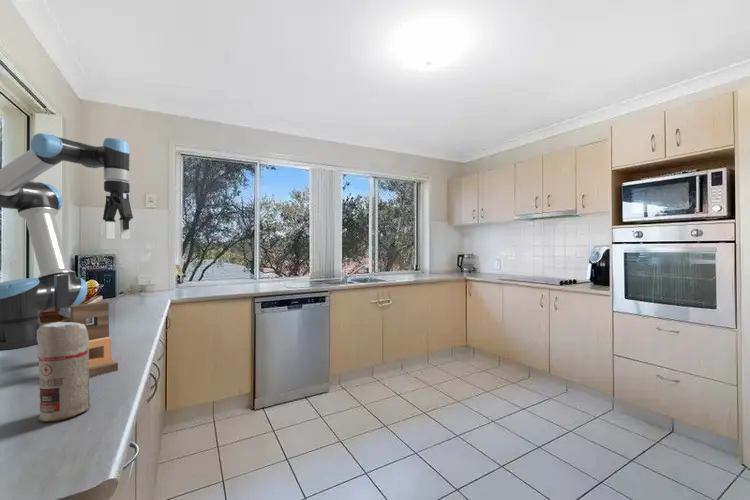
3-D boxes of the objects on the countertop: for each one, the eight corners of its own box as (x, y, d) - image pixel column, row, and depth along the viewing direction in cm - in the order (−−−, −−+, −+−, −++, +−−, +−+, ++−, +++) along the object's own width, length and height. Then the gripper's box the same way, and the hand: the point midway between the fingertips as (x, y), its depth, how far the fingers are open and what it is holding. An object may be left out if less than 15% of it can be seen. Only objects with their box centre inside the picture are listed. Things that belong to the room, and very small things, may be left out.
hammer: (54, 313, 113) (54, 275, 113) (66, 311, 115) (65, 274, 115) (81, 324, 97) (80, 280, 97) (94, 322, 100) (93, 279, 100)
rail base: (51, 357, 107) (50, 298, 106) (83, 351, 113) (82, 295, 113) (82, 379, 90) (81, 309, 90) (117, 370, 97) (116, 305, 96)
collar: (77, 367, 93) (77, 342, 93) (108, 360, 99) (108, 336, 99) (80, 369, 92) (80, 344, 92) (111, 361, 98) (111, 338, 98)
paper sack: (31, 417, 70) (29, 323, 70) (79, 401, 78) (78, 316, 77) (48, 428, 66) (46, 328, 66) (97, 409, 74) (96, 320, 73)
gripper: (143, 180, 120) (143, 238, 121) (115, 186, 134) (116, 238, 134) (118, 176, 114) (119, 238, 114) (92, 183, 128) (92, 238, 128)
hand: (117, 238), depth 124 cm, fingers open, 13 cm apart
